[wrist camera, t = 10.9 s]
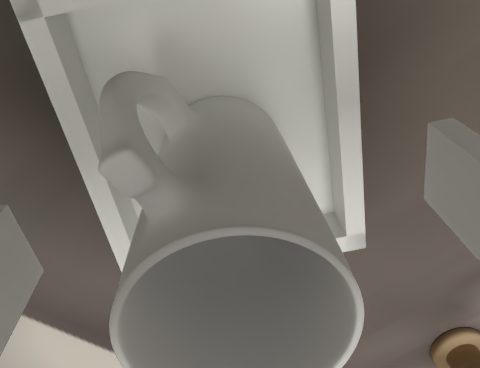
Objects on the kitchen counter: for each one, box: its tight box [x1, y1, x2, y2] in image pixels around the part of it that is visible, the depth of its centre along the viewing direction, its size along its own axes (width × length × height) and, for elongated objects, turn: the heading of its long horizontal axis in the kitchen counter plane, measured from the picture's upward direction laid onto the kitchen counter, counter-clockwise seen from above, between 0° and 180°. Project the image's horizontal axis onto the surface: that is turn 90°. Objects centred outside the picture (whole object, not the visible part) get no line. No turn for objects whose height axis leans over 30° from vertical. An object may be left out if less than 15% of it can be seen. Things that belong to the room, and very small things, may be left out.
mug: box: [98, 71, 364, 368], centre depth 15 cm, size 10×7×12 cm, turn 32°
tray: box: [10, 0, 366, 272], centre depth 20 cm, size 15×13×3 cm
